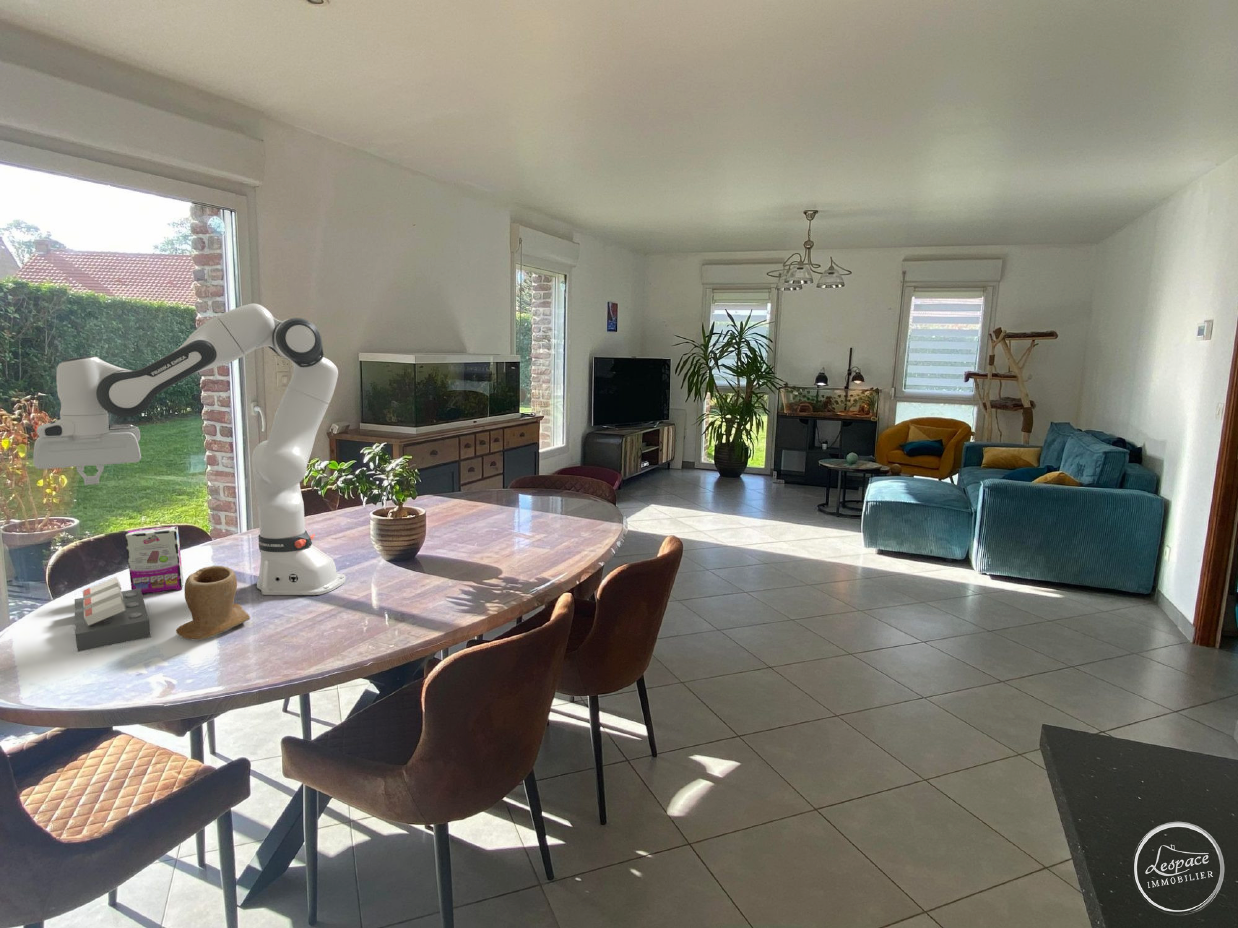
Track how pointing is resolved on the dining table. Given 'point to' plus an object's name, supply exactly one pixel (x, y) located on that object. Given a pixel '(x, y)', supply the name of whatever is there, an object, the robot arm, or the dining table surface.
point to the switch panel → (113, 624)
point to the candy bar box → (154, 560)
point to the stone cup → (211, 603)
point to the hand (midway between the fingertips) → (92, 483)
